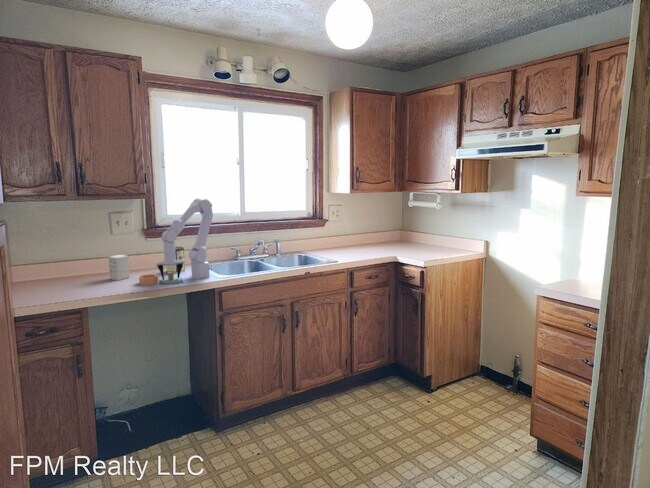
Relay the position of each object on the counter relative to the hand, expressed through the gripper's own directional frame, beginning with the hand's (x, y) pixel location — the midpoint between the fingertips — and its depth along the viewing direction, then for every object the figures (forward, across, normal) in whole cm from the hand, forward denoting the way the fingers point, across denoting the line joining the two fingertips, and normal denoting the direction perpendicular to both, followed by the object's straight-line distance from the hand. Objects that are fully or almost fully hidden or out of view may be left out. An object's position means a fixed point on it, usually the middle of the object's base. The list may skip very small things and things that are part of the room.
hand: (170, 278), depth 227 cm
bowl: (+2, -11, +1) cm, 11 cm away
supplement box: (+2, -25, +19) cm, 31 cm away
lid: (+2, 0, 0) cm, 2 cm away
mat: (+2, 0, 0) cm, 2 cm away
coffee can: (+2, +5, +26) cm, 27 cm away
